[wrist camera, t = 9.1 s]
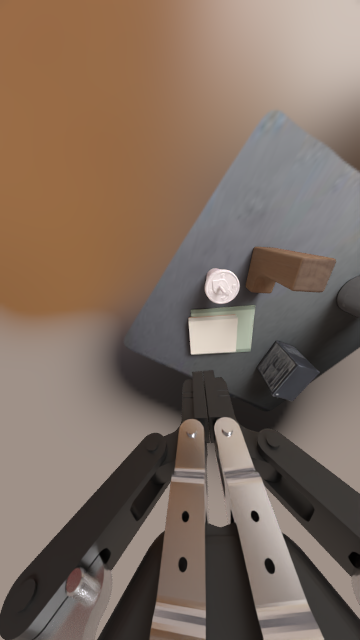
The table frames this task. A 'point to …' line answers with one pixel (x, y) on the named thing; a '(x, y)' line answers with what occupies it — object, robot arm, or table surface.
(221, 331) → the tile
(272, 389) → the small box
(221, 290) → the smoothie
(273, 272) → the wooden block
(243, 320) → the mat
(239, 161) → the table surface
